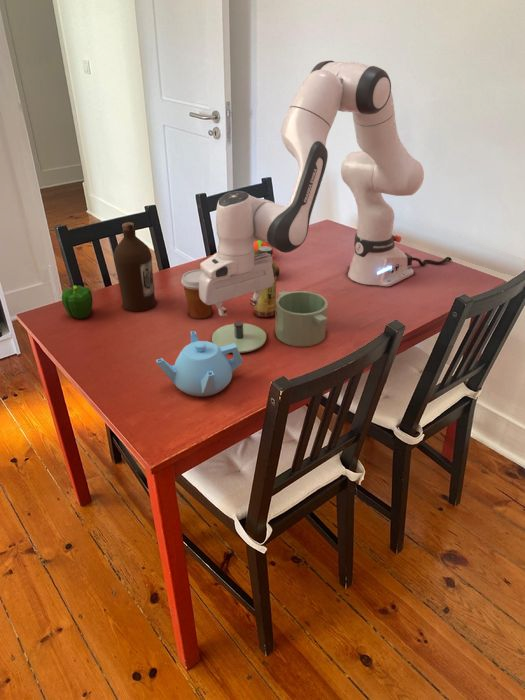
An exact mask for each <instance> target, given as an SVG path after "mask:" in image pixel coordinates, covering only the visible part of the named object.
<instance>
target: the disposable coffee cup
mask: <svg viewBox="0 0 525 700" xmlns="http://www.w3.org/2000/svg"><path fill="white" fill-rule="evenodd" d="M202 273H203V271H202V270H201V269H191V270H188V271H186V272H185V273H183V274H182V277H181V279H180V282H181V285H182V286H183V290H184V294H185V299H186V303H187V309H188V312H189V316H190V317H191V318H192V319H206V318H209V317H210V316H211V315H212V308H213V304H212V305H206V304H205V303H204V302H203V301H202V300H201V299H200V297H199V278H200V275H201V274H202Z"/></svg>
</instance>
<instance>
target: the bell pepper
mask: <svg viewBox="0 0 525 700" xmlns="http://www.w3.org/2000/svg"><path fill="white" fill-rule="evenodd" d="M61 302H62V305H63V307H64V309H65V311H66V313H67V315H68V316H69V317H70V318H75V319H78V320H81V319H87V318H88V317H89V316H90V314H91V313H92V309H93V294H92V290H91V288H90V287H85V286H82V285H73V286H72V288H64V289H63V292H62V294H61Z"/></svg>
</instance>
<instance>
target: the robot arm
mask: <svg viewBox="0 0 525 700" xmlns="http://www.w3.org/2000/svg"><path fill="white" fill-rule="evenodd" d="M338 112H343V113H345V112H346V113H352V120H353V127H354V133H355V140H356V143H357V145H358V147H359V148H360V149H361V150H359V151H351V152H349V153H348V154H347V155H345V157H344V159H343V160H342V163H341V166H340V176H341V179H342V181H343V182H344V183H345V185H346V186H347V187H348V188H349V190H350V191H351V193H352V196H353V197H354V201H355V205H356V209H357V225H356V226H357V227H356V232H355V234H354V243H353V245H354V249H353V253H352V259H351V263H350V264H349V269H348V273H347V277H348V278H349V279H350V280H351V281H353V282H356V283H358V284H362V285H366V286H367V285H368V286H381V287H391V286H393V285H395V284H398V283H399V282H401V281H403V280H405V279H406V278H407V279H408V278H409V277H410V276H412V275H414V269H413V268H412V267H410V266H412V264H413V261H416V262H417V263H418V264H419V265H420V266H425V264H426V263H430V264H434V265H443V264H444V263H446V262H447V261H449V262H452V261H453V259H452V258H451V257H450V256H446V257H445V258H444V259H442V260H439V261H437V260H432V259H423V261H422V259H420V258H418V257H413V256H412V255H410V254H409V253H406V252H403V251H402V249H400V248H399V247H397V246H396V245H395V242H396V243H401V241H402V236H400V235H397V234H396V235H394V234H393V231H394V222H395V211H394V209H393V207H392V206H391V205H390V204H388V203H387V201H386V200H385V199H384V197H383V194H384V195H390V196H395V197H405V196H406V197H407V196H413V195H414V194H416V193H417V192H418V191H419V190H420V188H421V187H422V185H423V182H424V178H425V171H424V170H425V169H424V167H423V165H422V164H421V162H420V161H418V159H416V158H415V157H413V156H412V155H411V154H410V153H409V151H408V150H407V148H406V147H405V146H404V145H403V142H402V141H401V138H400V136H399V133H398V127H397V120H396V113H395V102H394V98H393V93H392V82H391V79H390V77H389V74H388V72H387V71H386V70H384V69H383V68H381V67H379V66H375V65H368V64H365V63H359V62H355V61H334V60H324V61H320V62H318V63H317V64H315V66H313V68H312V69H311V72H309V74H308V75H307V76H306V77H305V79H304V81H302V84H301V85H300V86H299V88H298V90H297V92H296V93H295V95H294V97H293V99H292V101H291V103H290V105H289V107H288V110H287V112H286V114H285V116H284V119H283V120H282V124H281V129H280V136H281V141H282V143H283V145H284V147H285V148H286V150H287V151H288V152H289V154H291V156H293V158H294V159H295V160H296V162H297V164H298V172H297V176H296V179H295V183H294V186H293V189H292V192H291V195H290V198H289V201H288V203H287V204H286V205H285V206H284V205H282V204H279V203H276V202H274V201H272V200H268V199H265V198H260V197H255V196H253V195H250V194H249V193H248V192H246V191H244V190H235V191H234V190H233V191H229V192H227V193H224V194H223V195H221V196H220V198H219V199H218V201H217V204H216V211H215V212H216V213H215V227H216V235H217V238H218V245H217V252H215V253H213V255H211V256H209V257H208V258H206V259H205V260H203V261H201V262H200V264H199V268H200V269H199V270H202V271H203V273H202V274H201V275H200V278H199V297H200V299H201V300H202V301H203V302H204V303H205V304H206V305H212V306H213V305H214V306H215V307H216V308H217V309H218V315H219V316H220V317H224V316H227V315H228V313H227V308H226V307H224V306H222V305H223V302H225V301H228V300H232V299H235V298H238V297H239V298H240V297H243V296H245V295H249V294H252V293H253V295H252V297H251V298H249V304H250V306H252V307H254V306H256V305H258V299H259V298H260V296H261V294H262V290H263V289H266V288H270V287H272V285H273V284H274V274H273V268H272V263H273V262H274V261H273V255H272V256H271V255H270V254H267V253H262V254H259V255H254V242H255V241H258V240H260V241H262V242H265V243H267V244H268V245H269V246H270V247H271V248H273V249H276V250H277V251H280V252H281V253H285V254H286V253H287V254H288V253H291V252H293V251H295V250H296V249H298V248H300V247H301V245H303V243H305V241H306V239H307V237H308V233H309V227H310V221H311V216H312V213H313V209H314V206H315V203H316V200H317V197H318V193H319V191H320V187H321V185H322V182H323V179H324V175H325V171H326V168H327V163H328V160H329V159H328V157H329V156H328V155H329V152H328V149H327V147H326V146H327V140H328V135H329V134H330V131H331V129H332V126H333V124H334V122H335V119H336V117H337V114H338ZM268 255H269V256H268ZM272 261H273V262H272ZM254 292H255V293H254Z"/></svg>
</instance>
